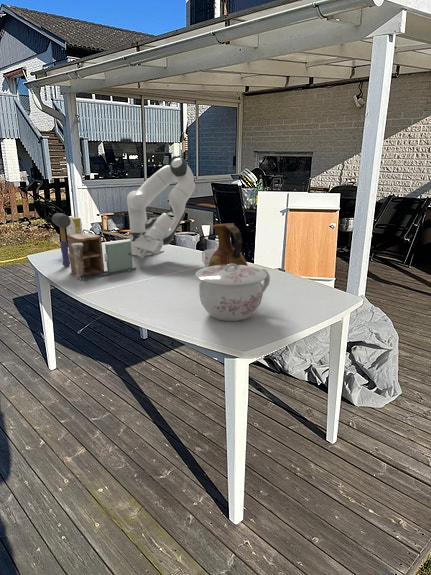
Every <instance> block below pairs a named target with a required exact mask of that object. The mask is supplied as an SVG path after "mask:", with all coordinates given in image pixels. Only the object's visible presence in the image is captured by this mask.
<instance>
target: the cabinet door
mask: <svg viewBox="0 0 431 575" xmlns="http://www.w3.org/2000/svg"><path fill="white" fill-rule="evenodd" d="M104 246H105V253H104V254H103V256H104V261H105V263H106V267H107V268H106V271H108V273H110V272H115V271H119V270H124V269H129V268H134V265H133V255H132V249H131V240H130V239H129V240H121V241H116V242H111V243H110V242H109V243H105V245H104Z"/></svg>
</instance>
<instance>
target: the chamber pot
mask: <svg viewBox="0 0 431 575" xmlns="http://www.w3.org/2000/svg"><path fill="white" fill-rule="evenodd" d="M194 277H195V278H196V279H197V280H198V281H200V283H199V284H198V288H199V289H198V291H199V292H198V295H199V298H200V299H199V300H200V302H201V305H202V307H203V308H204V310H205V311H206V313H208V314H209V316H210V317H212V318H214V319H215V320H216V319H217V320H220V321H224V320H225V321H227V322H236V321H237V322H238V321H243V320H246V319H249V318H250V317H251V316H253V315H254V314H255V312H256V311H257V310H258V308H259V307H260V305H261V302H262V299H263V295H264V292H265V291H266V289H267V288H268V286H269V285H270V282H271V281H270V280H271V277H270V274H269V272H268V270H266V269H265V268H258V267H254V266H251V265H248V266H246V265H236V264H233V263H231V264H224V265H215V266H210V267H205V266H204V268H203V267H202V268H200V269H198V270H197V271H196V272H195V274H194ZM262 282H263V284H262Z"/></svg>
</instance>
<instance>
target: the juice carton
mask: <svg viewBox="0 0 431 575" xmlns="http://www.w3.org/2000/svg"><path fill="white" fill-rule="evenodd" d="M68 217H69V218H70V220H71V223H70V225H69V226H68V227H66V228H65V229H66V230H65V231H66V236H67V235H74V234H82V233H83V232H84V230H83V224H82V218H81V217H76V216H74V217H73V215H70V216H68Z"/></svg>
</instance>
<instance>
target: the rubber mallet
mask: <svg viewBox="0 0 431 575" xmlns="http://www.w3.org/2000/svg"><path fill="white" fill-rule="evenodd" d="M51 222H52V223H53V224H54V225H56V226H57V227H58V228H59V231H60V232H59V233H60V240H61V241H60V251H61V255H62V266H63V268H64V267H65V268H68V267H70V266H71V264H70V255H69V247H68V240H67V235H66V230H65V229H66V227H68V226H69V225H70V223H71V220H70V218H69V216H68V215H66V214H65V213H62V212H56V213H54V214H53V215H52V216H51Z"/></svg>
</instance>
